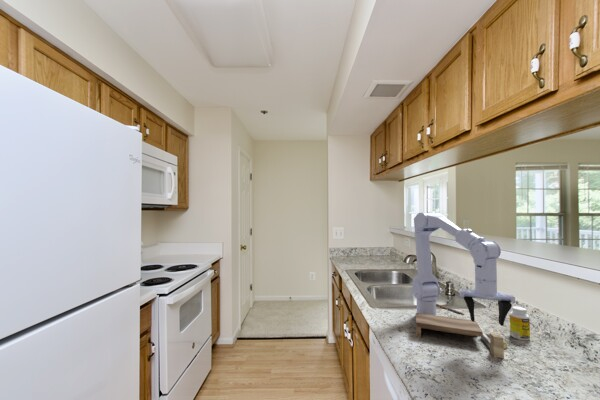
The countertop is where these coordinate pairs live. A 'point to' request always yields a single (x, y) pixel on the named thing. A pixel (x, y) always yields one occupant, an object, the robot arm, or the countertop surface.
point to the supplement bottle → (519, 323)
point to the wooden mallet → (494, 344)
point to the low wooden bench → (447, 325)
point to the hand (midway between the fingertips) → (486, 322)
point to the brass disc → (505, 345)
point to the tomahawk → (450, 309)
